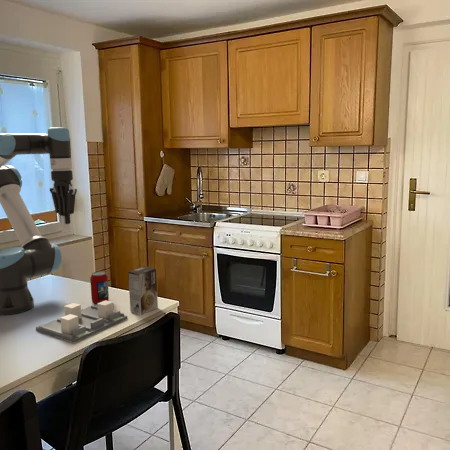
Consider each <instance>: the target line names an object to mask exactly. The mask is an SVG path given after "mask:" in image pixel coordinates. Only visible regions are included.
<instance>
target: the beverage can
mask: <svg viewBox="0 0 450 450" xmlns="http://www.w3.org/2000/svg"><path fill="white" fill-rule="evenodd" d="M89 279H90V281H89V282H90V294H91V301H92V303H94V304H97V303H100V302H103V301H105V300H106V301H110V300H109V298H110V296H109V280H108V279H109V278H108V274H107V273H106V271H101V270H100V271H94V272H92V273H91V275H90V277H89Z"/></svg>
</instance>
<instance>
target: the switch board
mask: <svg viewBox="0 0 450 450" xmlns="http://www.w3.org/2000/svg"><path fill="white" fill-rule="evenodd" d="M64 316H65V315H64ZM64 316H62V317H64ZM81 316H82V318H80V319H78V322H79V328H76V329H74V330H72V331H71V333H72V334H67V333H63V332H62V331H61V319H60V318H61V317H59V318H56V319H55V320H51V321H48V322H47V323H43V324H40V325H38V326H36V327H35V331H37V332H40V333H43V334H47V335H49V336H53V337H55V338H58V339H61V340H65V341H67V342H71V343H73V344H75V343H77V342H80V341H82V340H84V339H86V338H88V337H90V336H93V335H95V334H97V333H100V332H101V331H104V330H105V329H106V330H107V329H108V328H111V327H112V326H115V325H117V324H119V323H121V322H124V321H126V320H127V319H128V316H127V315H125V312H122V311H120V310H114V313H112V314H109V315H108V318H106V319H105V318H101V317H98V307H97V305H93V304H92V305H90V306H88V307H85V308H81Z"/></svg>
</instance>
